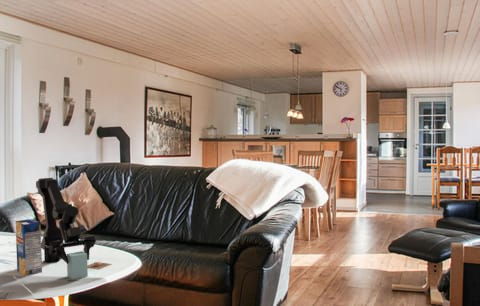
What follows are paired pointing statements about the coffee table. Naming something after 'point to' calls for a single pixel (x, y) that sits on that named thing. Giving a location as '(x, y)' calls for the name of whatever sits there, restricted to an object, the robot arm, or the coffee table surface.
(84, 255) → the pale teal block
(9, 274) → the coffee table surface
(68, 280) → the mat
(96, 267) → the coaster
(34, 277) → the coffee table surface
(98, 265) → the peach flattened ellipsoid
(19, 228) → the beverage box
